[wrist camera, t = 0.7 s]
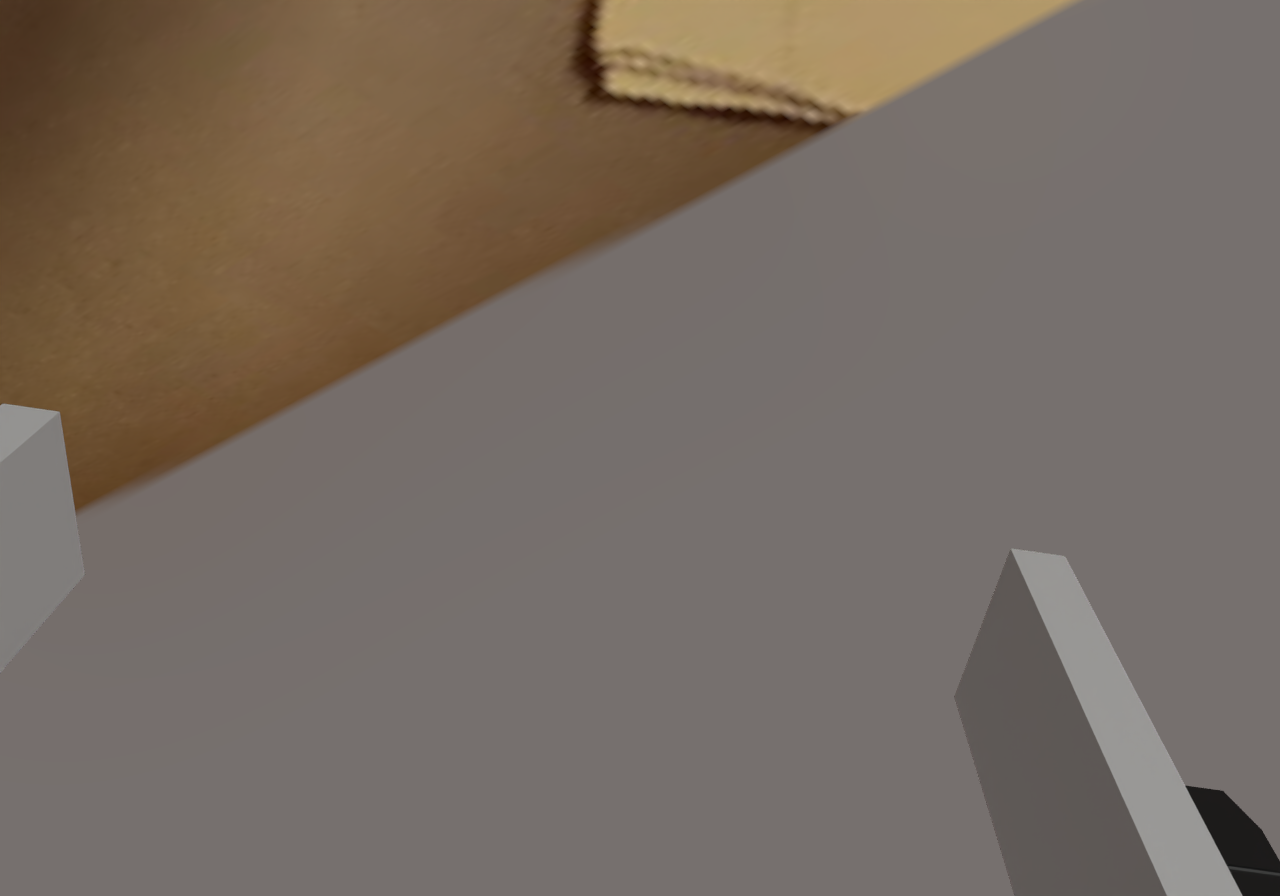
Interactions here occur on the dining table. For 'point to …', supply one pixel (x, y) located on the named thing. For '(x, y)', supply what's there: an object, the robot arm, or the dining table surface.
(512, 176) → the dining table surface
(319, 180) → the dining table surface
